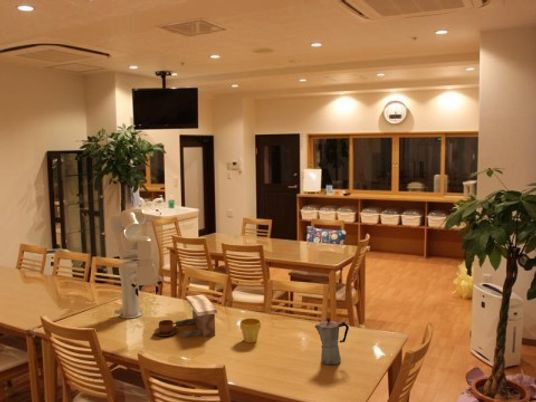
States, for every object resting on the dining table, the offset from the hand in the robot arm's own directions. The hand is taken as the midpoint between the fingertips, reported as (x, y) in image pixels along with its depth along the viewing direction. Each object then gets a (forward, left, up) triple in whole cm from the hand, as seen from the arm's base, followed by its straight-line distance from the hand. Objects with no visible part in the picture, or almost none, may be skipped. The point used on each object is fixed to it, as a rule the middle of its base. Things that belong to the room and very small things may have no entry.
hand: (147, 294), depth 262 cm
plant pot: (+46, -29, -21) cm, 59 cm away
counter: (+24, -3, -21) cm, 32 cm away
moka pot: (+72, -66, -21) cm, 101 cm away
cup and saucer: (+8, -3, -21) cm, 23 cm away
